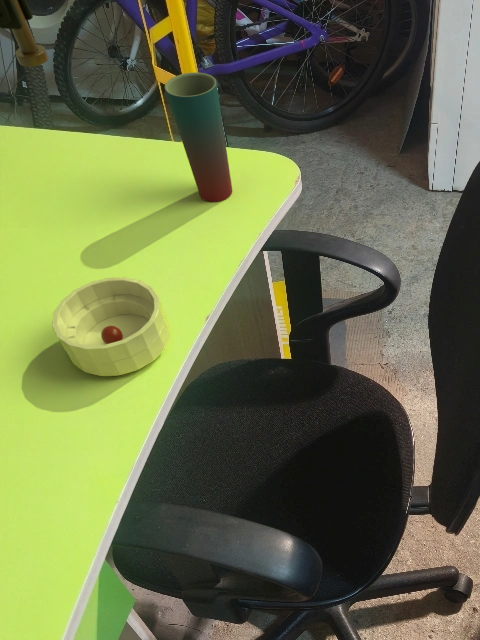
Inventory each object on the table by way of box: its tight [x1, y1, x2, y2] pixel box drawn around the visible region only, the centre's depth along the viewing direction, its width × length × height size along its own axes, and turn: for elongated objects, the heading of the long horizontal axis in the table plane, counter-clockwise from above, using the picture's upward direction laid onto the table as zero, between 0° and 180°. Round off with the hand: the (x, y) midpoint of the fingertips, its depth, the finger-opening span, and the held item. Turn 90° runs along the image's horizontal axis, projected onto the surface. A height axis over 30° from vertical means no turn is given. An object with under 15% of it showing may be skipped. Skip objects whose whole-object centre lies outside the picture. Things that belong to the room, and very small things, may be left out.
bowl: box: [51, 276, 171, 377], centre depth 70 cm, size 12×12×5 cm
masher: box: [11, 0, 49, 68], centre depth 78 cm, size 4×4×10 cm
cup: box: [164, 71, 233, 203], centre depth 83 cm, size 7×7×15 cm
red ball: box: [101, 326, 123, 344], centre depth 70 cm, size 2×2×2 cm
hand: (16, 21), depth 79 cm, fingers closed on masher, 2 cm apart
